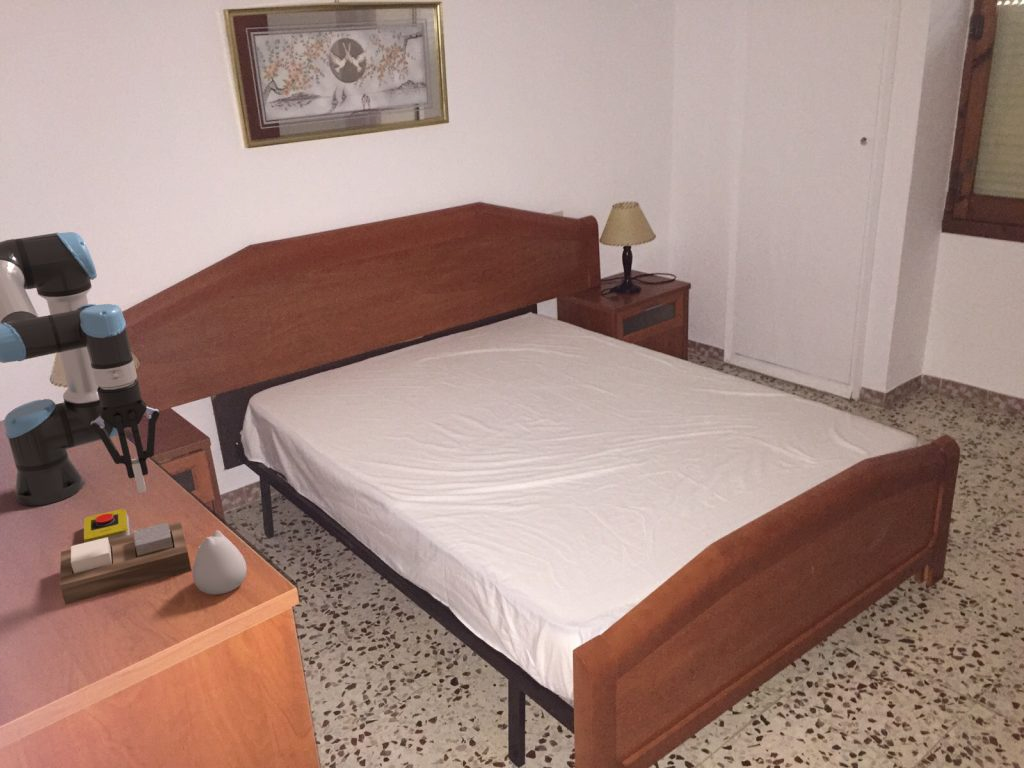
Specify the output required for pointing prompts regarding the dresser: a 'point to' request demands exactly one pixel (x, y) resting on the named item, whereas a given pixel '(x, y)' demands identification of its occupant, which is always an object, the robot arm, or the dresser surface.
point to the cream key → (91, 555)
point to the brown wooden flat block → (124, 568)
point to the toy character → (218, 565)
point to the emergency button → (106, 525)
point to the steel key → (153, 539)
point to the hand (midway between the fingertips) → (141, 489)
